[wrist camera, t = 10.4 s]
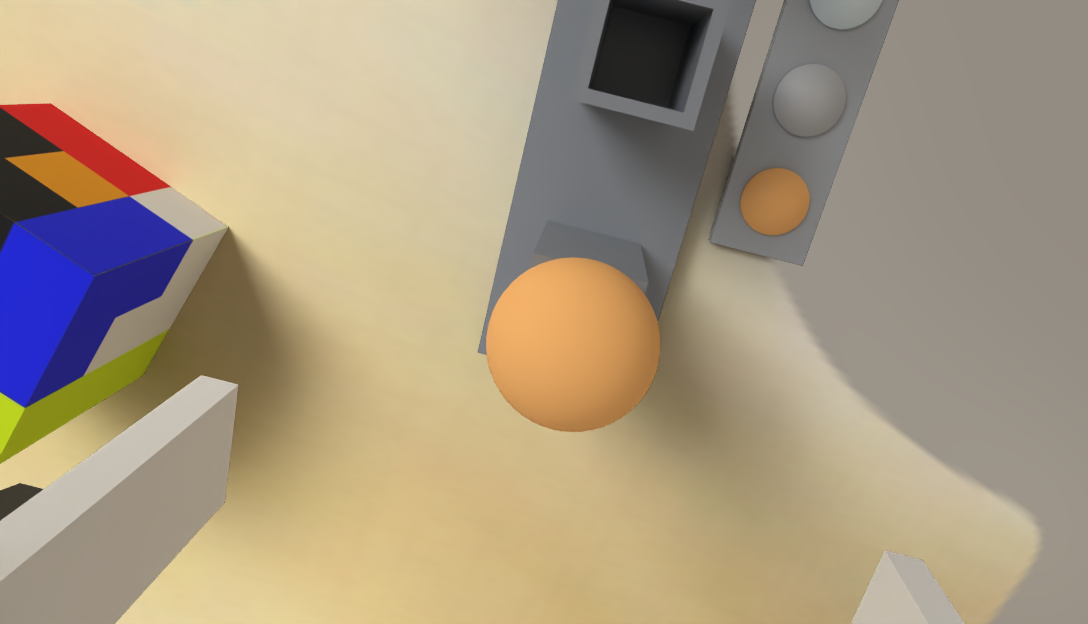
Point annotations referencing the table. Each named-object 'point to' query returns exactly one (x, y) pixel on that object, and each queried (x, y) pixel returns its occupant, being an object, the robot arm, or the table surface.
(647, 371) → the orange ball
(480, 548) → the table surface
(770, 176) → the card
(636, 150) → the ball display stand
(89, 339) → the puzzle toy
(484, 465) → the table surface
